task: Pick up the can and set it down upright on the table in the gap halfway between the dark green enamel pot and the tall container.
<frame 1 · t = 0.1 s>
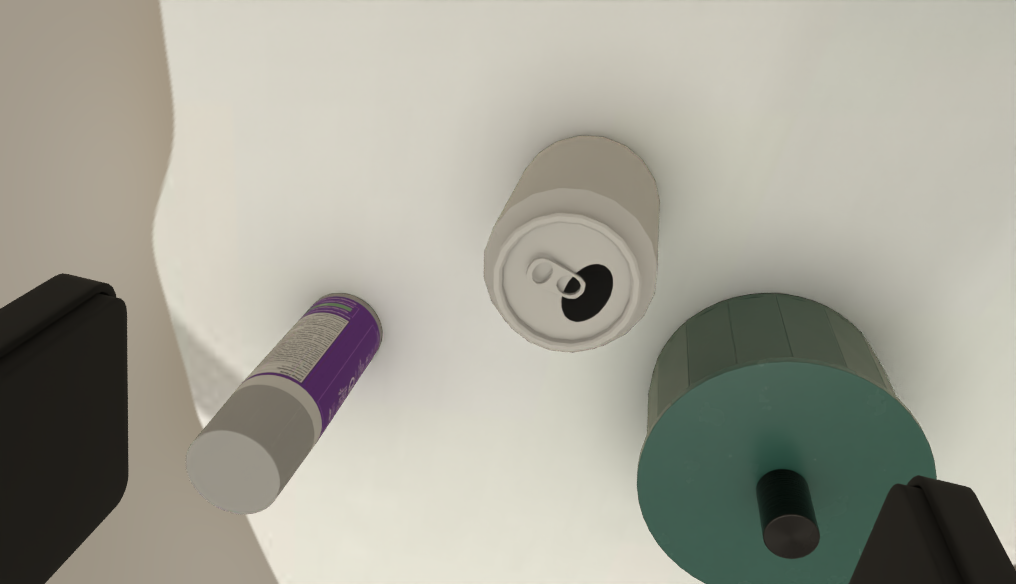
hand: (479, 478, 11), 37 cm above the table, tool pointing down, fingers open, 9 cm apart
container: (345, 327, 53), on the table
can: (588, 199, 48), on the table
pot: (763, 395, 50), on the table
pot lid: (780, 483, 42), point 8 cm above the table, touching pot
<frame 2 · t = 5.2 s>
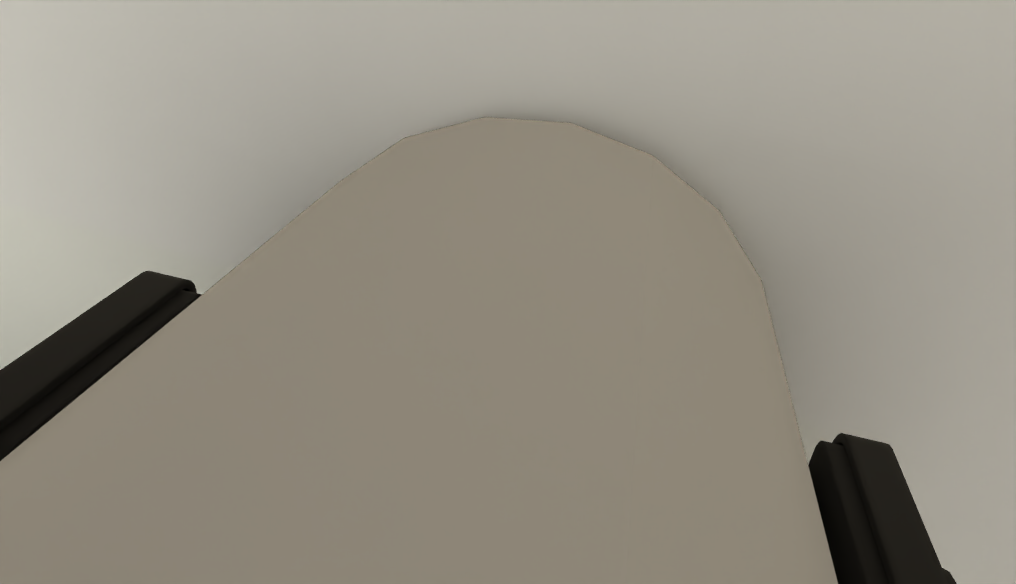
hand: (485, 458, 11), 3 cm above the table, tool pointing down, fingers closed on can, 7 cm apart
can: (527, 333, 14), on the table, touching gripper
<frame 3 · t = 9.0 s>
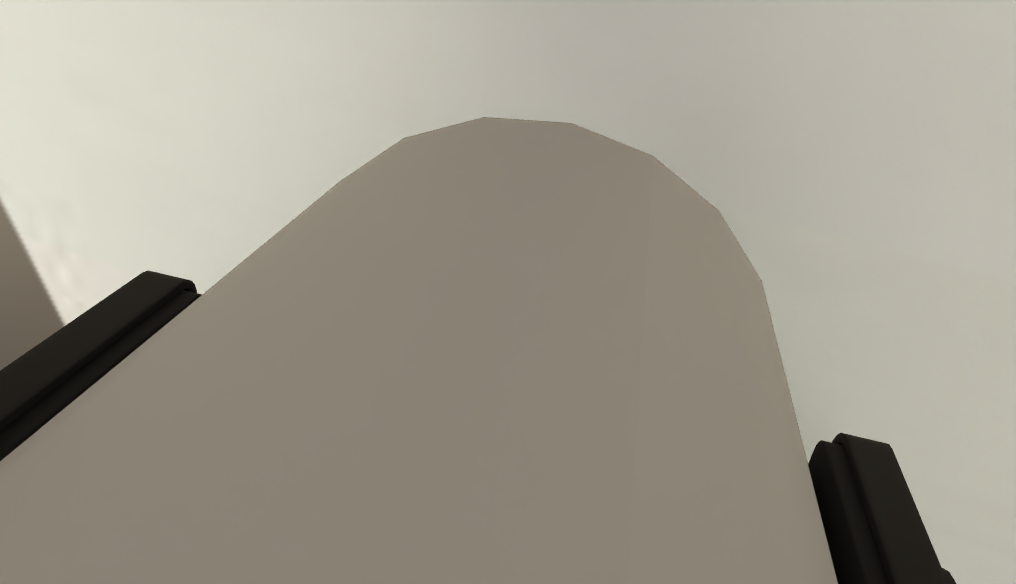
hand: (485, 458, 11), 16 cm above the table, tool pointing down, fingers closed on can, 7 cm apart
can: (527, 333, 14), point 12 cm above the table, touching gripper
when the fingers open (3 cm above the table, at t = 13.0 s): can stays where it is, on the table.
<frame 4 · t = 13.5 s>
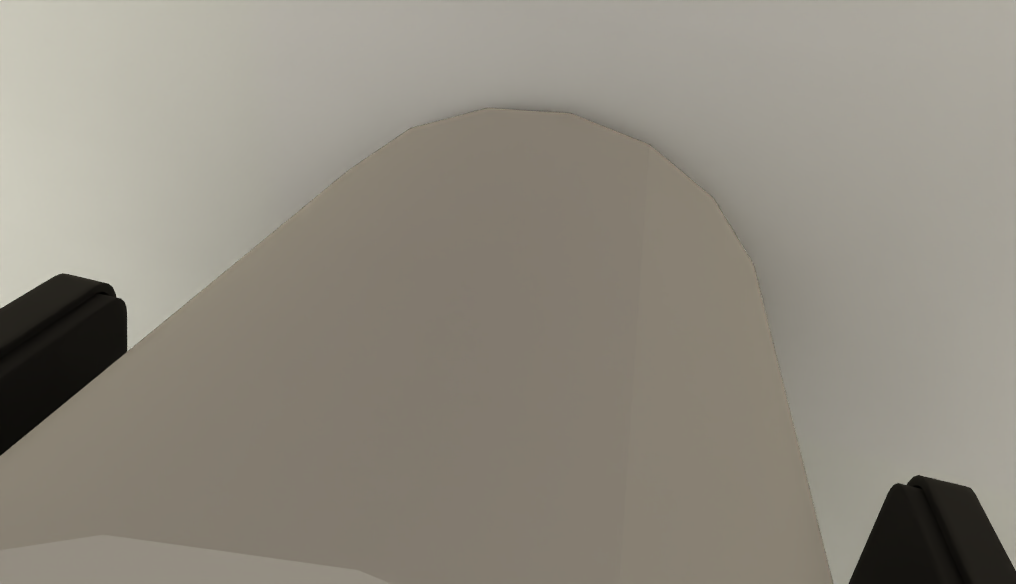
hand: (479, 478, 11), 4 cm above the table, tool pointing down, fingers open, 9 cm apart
can: (529, 317, 15), on the table
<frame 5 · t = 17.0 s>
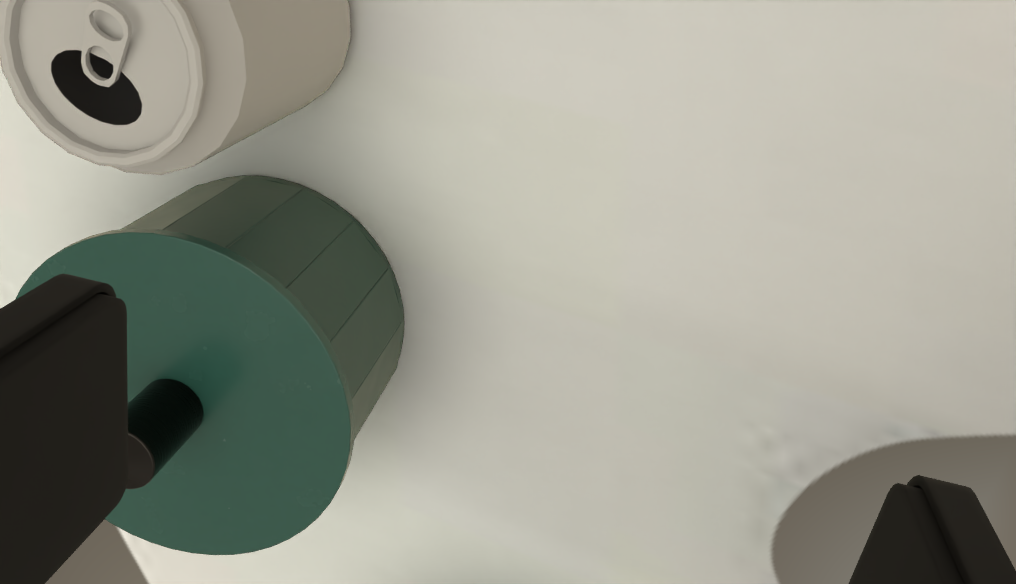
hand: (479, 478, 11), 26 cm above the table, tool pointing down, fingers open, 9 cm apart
can: (270, 14, 36), on the table
pot: (271, 307, 41), on the table
pot lid: (180, 400, 33), point 8 cm above the table, touching pot
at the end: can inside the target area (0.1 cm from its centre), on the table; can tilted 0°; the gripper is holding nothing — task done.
